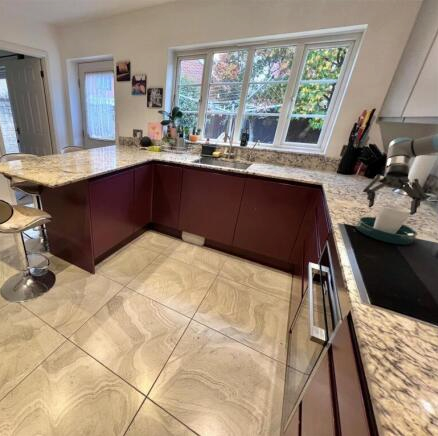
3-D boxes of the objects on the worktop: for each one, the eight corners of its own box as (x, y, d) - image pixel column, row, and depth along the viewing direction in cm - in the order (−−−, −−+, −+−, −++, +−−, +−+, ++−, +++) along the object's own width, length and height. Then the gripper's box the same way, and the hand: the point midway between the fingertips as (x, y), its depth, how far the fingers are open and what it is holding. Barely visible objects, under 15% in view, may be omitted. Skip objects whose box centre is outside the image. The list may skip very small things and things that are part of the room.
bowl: (418, 239, 98) (424, 230, 96) (401, 249, 90) (407, 239, 88) (365, 222, 112) (370, 214, 110) (347, 229, 104) (351, 220, 102)
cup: (401, 240, 96) (417, 213, 90) (374, 236, 98) (388, 210, 93) (389, 231, 103) (403, 206, 98) (365, 227, 106) (377, 202, 101)
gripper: (429, 178, 102) (426, 220, 97) (358, 169, 114) (351, 207, 108) (442, 168, 96) (439, 212, 91) (365, 160, 107) (358, 199, 102)
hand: (391, 209), depth 99 cm, fingers open, 13 cm apart
